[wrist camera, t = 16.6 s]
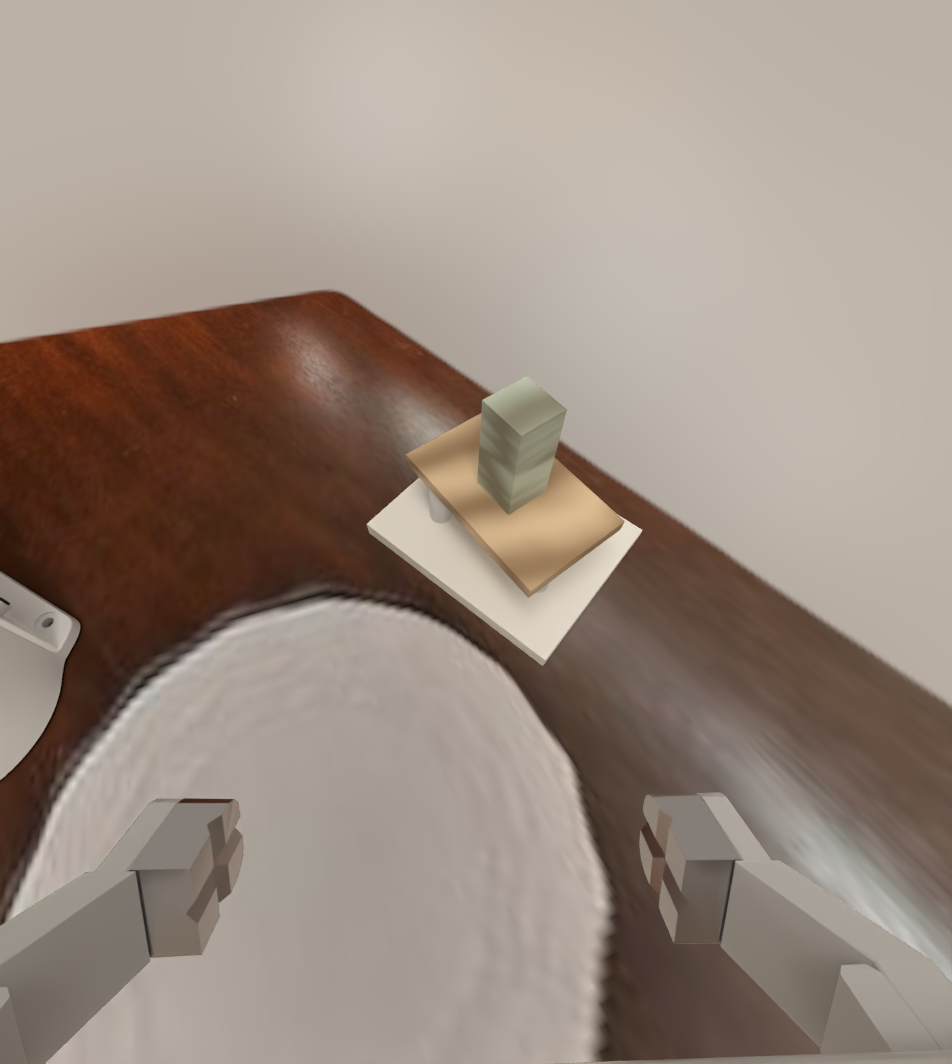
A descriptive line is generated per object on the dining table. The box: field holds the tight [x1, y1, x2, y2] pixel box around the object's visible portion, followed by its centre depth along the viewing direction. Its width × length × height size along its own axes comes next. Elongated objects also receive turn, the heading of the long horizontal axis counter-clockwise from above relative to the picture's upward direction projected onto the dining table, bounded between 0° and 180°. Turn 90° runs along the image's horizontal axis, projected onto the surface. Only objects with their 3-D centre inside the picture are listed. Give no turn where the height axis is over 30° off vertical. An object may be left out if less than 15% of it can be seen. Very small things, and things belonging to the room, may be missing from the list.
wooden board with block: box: [406, 377, 625, 598], centre depth 37 cm, size 16×10×10 cm, turn 38°
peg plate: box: [367, 478, 642, 666], centre depth 44 cm, size 20×16×6 cm
